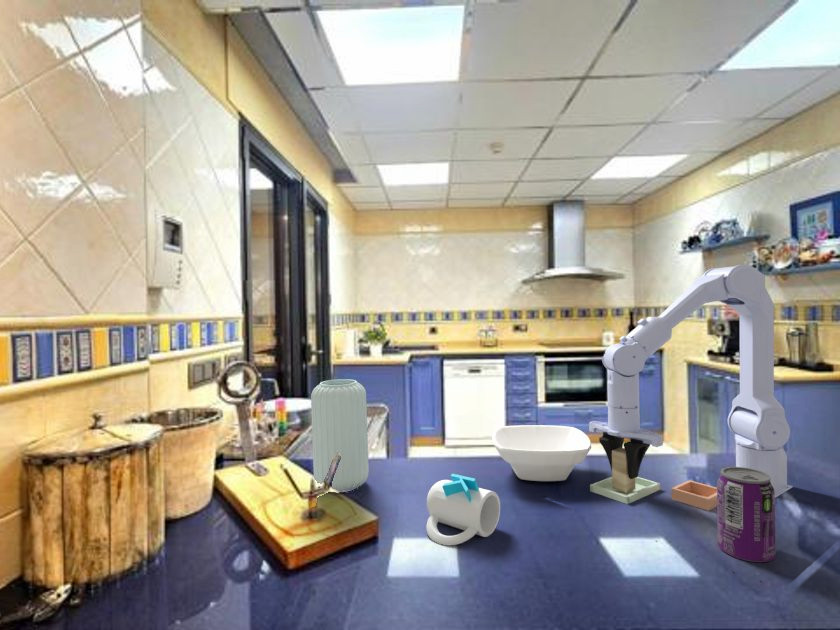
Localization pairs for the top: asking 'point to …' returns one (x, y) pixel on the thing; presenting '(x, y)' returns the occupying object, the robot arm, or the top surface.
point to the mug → (461, 509)
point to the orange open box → (695, 495)
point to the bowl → (541, 450)
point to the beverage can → (746, 514)
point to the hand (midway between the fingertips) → (624, 474)
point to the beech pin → (621, 472)
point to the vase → (340, 432)
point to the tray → (641, 490)
